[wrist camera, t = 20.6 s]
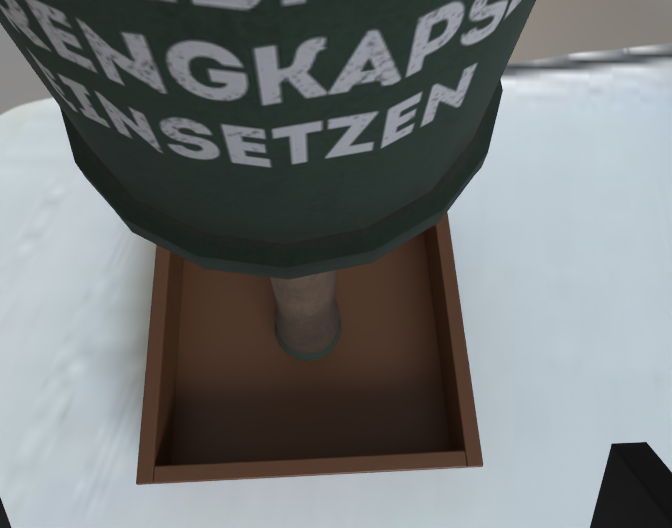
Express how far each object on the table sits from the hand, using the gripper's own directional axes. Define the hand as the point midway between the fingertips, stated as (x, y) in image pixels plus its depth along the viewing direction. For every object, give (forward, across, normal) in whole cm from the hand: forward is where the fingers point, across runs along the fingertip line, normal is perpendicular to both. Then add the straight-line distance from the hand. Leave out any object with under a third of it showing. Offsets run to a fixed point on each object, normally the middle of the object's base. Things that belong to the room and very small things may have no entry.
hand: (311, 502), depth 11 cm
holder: (+18, 0, -7) cm, 20 cm away
